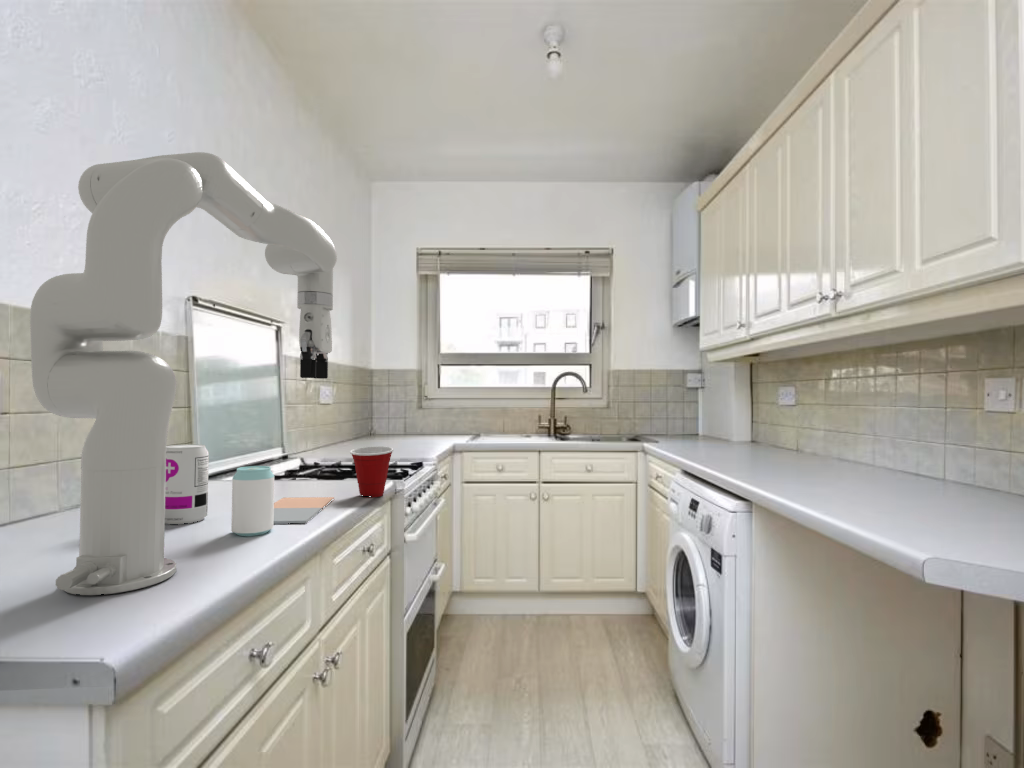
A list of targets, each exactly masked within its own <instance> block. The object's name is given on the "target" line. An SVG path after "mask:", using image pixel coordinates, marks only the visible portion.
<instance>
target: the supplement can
mask: <svg viewBox="0 0 1024 768" xmlns="http://www.w3.org/2000/svg"><path fill="white" fill-rule="evenodd" d="M209 454H210V453H209V450H208V449H207V448H206V445H205V444H198V443H197V444H192V443H191V444H174V445H173V444H172V445H167V446H166V490H165V525H170V524H178V525H185V524H184V523H188V524H194V523H198V522H201V521H203V520H204V519H205V518H206V517H207V516H208V502H209V464H210V463H209V462H210V455H209ZM197 521H198V522H197ZM193 522H194V523H193Z"/></svg>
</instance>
